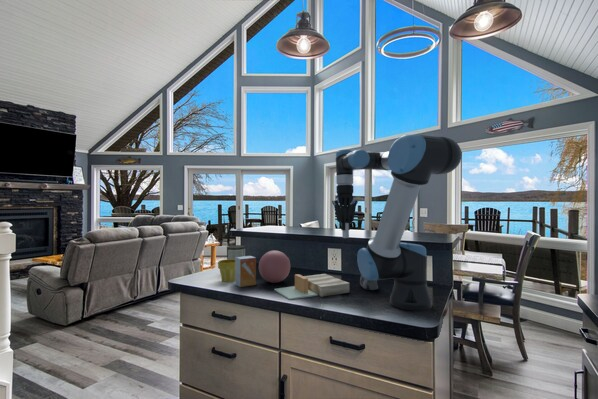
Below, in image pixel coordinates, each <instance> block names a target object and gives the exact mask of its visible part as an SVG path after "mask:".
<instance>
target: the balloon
mask: <svg viewBox="0 0 598 399" xmlns="http://www.w3.org/2000/svg"><path fill="white" fill-rule="evenodd" d="M290 270H291V262H290V257H288V256H287V255H286V254H285V253H284V252H282V251H279V250H275V249H274V250H269V251H267V252H265V253H264V254H263V255H262V256H261V258H260V259H259V262H258V271H259V274H260V276H261V277H262V278H263V280H265V281H266V282H268V283H274V284H276V283H281V282H282V281H284V280H285V279H286V278H287V277H288V276H289V273H290V272H291V271H290Z"/></svg>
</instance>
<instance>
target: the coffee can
mask: <svg viewBox="0 0 598 399" xmlns="http://www.w3.org/2000/svg"><path fill="white" fill-rule="evenodd" d="M243 256H246V245H242V244H235V245H228V246H226V259H235V257H243Z"/></svg>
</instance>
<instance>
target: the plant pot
mask: <svg viewBox="0 0 598 399" xmlns="http://www.w3.org/2000/svg"><path fill="white" fill-rule="evenodd" d="M217 267H218V269H219V272H220V277H221V281H222V282H224V283H229V282H230V283H231V282H235V259H227V258H226V259H222V260H218V261H217Z"/></svg>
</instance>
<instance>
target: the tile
mask: <svg viewBox="0 0 598 399" xmlns="http://www.w3.org/2000/svg"><path fill="white" fill-rule="evenodd" d="M304 276H305V275H304ZM304 276H303V275H302V274H300V273H299V274H296V273H295V274H294V286H295V289H297V290H299V291H301V292H302V293H308V278H306V277H304Z"/></svg>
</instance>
